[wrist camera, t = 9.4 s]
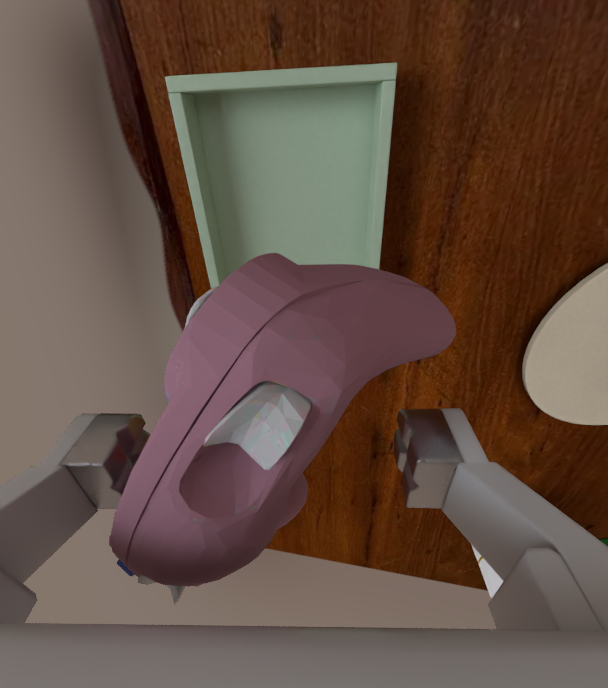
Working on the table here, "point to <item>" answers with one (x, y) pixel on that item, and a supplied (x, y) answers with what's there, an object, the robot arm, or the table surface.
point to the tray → (287, 162)
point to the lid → (572, 355)
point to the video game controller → (260, 408)
